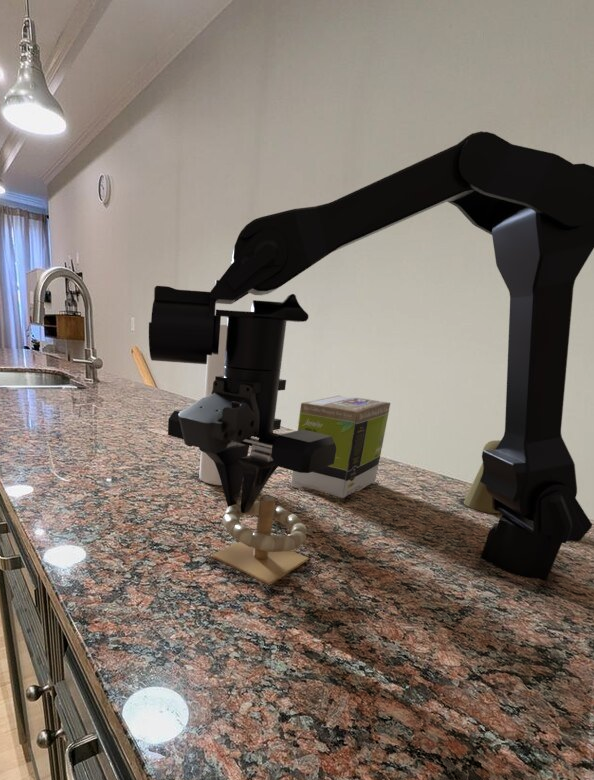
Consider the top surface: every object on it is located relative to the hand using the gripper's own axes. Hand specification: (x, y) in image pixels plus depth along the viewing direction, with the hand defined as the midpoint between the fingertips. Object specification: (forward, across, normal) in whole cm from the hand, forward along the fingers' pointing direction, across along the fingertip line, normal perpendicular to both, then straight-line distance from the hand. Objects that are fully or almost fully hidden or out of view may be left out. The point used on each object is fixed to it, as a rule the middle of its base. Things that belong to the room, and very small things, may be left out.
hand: (238, 509), depth 51 cm
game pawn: (+6, +18, +45) cm, 49 cm away
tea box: (+6, -4, +34) cm, 35 cm away
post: (+6, +4, 0) cm, 7 cm away
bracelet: (+1, +4, 0) cm, 4 cm away
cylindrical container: (+6, -19, +20) cm, 28 cm away
